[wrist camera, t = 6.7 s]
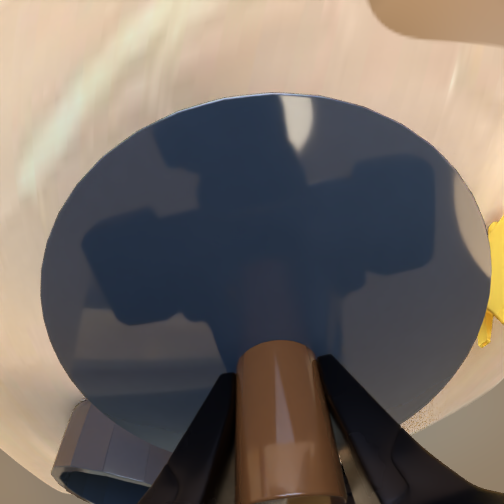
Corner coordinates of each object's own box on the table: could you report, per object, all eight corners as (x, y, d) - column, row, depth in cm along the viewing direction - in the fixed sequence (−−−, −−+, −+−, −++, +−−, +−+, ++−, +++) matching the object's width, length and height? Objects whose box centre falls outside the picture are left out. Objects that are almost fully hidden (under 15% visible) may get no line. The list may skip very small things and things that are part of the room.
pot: (276, 449, 24) (281, 513, 18) (133, 478, 29) (125, 523, 23) (167, 366, 19) (149, 455, 13) (37, 417, 23) (17, 467, 17)
